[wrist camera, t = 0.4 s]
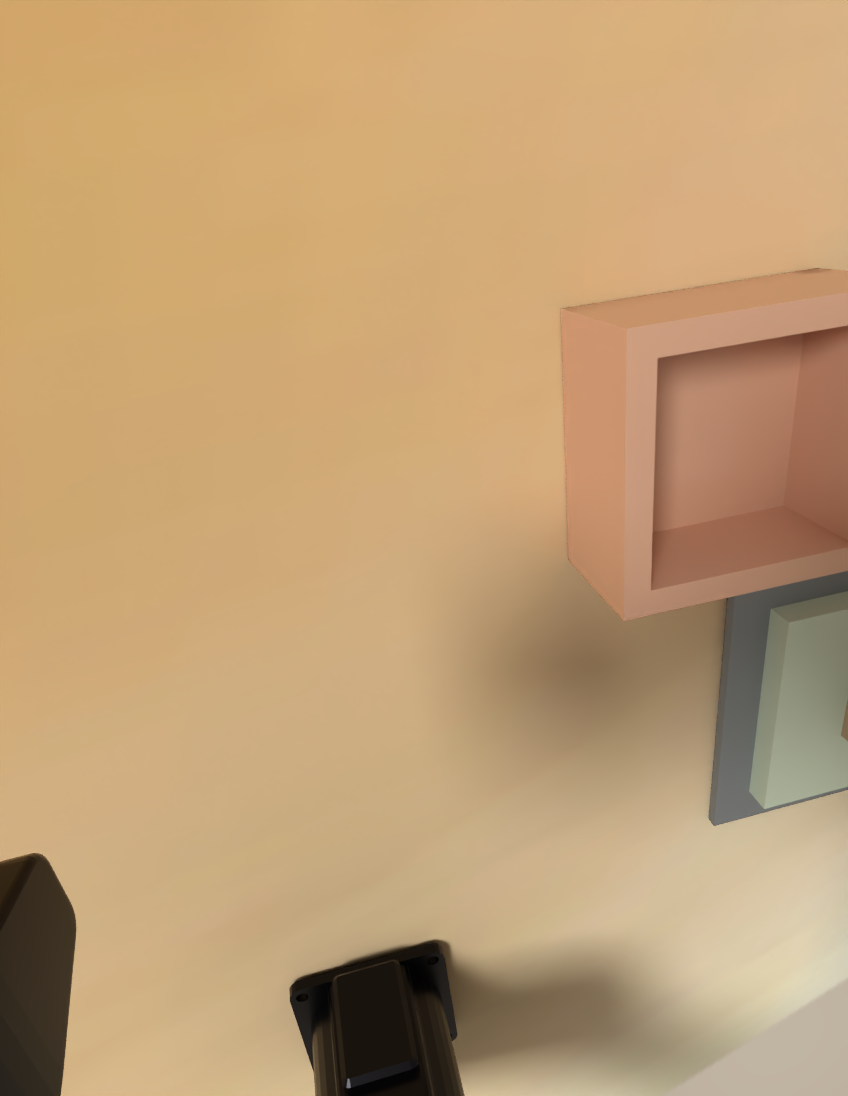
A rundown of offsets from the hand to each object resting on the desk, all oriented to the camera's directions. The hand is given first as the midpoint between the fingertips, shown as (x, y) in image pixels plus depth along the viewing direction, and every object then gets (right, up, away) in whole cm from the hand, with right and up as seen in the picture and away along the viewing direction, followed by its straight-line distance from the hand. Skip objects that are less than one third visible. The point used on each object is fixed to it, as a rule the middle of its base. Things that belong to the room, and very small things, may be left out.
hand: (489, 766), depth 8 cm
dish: (+8, +6, +15) cm, 18 cm away
